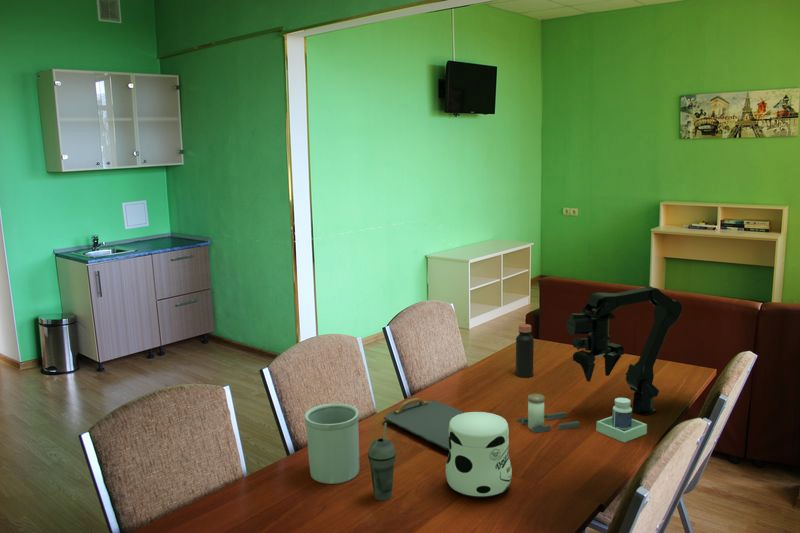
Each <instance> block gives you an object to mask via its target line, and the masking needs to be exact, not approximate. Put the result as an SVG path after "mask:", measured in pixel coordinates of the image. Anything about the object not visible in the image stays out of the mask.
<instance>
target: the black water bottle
mask: <svg viewBox="0 0 800 533" xmlns="http://www.w3.org/2000/svg"><path fill="white" fill-rule="evenodd" d="M518 333H519V334H518V335H517V336H516V337H515V375H516V377H520V378H532V377H533V376H534V354H535V352H534V349H535V348H534V347H535V346H534V344H535V343H534V341H535V340H534V336H533V335H531V333H532V325H531V324H527V323H521V324H519V325H518Z"/></svg>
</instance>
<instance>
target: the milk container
mask: <svg viewBox="0 0 800 533" xmlns="http://www.w3.org/2000/svg"><path fill="white" fill-rule="evenodd" d="M509 431H510V430H509V424H508V422H507V420H506V419H505V418H504V417H503V416H501V415H498V414H495V413H491V412H484V411H471V412H470V411H469V412H464V413H463V414H459V415H456V416H455V417H453V418H452V419H451V421H450V423H449V451H448V455H447V458H446V463H445V477H446V481H447V483H448V486H449V487H450V488H451V489H452V490H453V491H455V492H456V493H458V494H460V495H461V496H465V497H470V498H478V499H487V498H491V497H493V498H494V497H495V496H497V495H500V494H503V493H504V492H505V491H507V489H508V488H509V487H510V485H511V480H512V476H513V474H512V473H513V469H512V463H511V460H510V456H509V455H510V454H509V445H510V444H509V442H510V440H509V436H510V435H509V434H510V433H509Z"/></svg>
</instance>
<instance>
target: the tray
mask: <svg viewBox="0 0 800 533" xmlns="http://www.w3.org/2000/svg"><path fill="white" fill-rule="evenodd" d="M612 416H613V415H611V416H609V417H606V418H602V419H600V420H597V421H596V426H595V427H596V429H595V431H596V432H598V433H599V434H603V435H605V436H608V437H610V438H611V439H615V440H617V441H620V442H622V443H627V442H630V441H632V440H634V439H637V438H639V437H642V436H644V435H647V433H648V431H647V430H648V424H647V423H644V422H642V421H639V420H637V419H635V418H632V427H631V429H629V430H627V431H622V430H620V429H617V428H615V427H612Z"/></svg>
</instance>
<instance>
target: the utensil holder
mask: <svg viewBox="0 0 800 533" xmlns="http://www.w3.org/2000/svg"><path fill="white" fill-rule="evenodd" d="M359 417H360V412H359V409H358V408H357V407H355V406H353V405H350V404H346V403H335V402H334V403H325V404H320V405H316V406H314V407H311V408H310V409H307V411H306V412H305V414H304V422H305V424H306V425H305V427H306V439H307V452H308V453H307V454H308V463H309V473H310V477H311V478H312V479H313V480H315V481H316V482H319V483H322V484H327V485H329V484H330V485H331V484H332V485H333V484H341V483H345V482H348V481H351V480H353V479H354V478H355V477H357V475H358V474H359V473H360V443H359V442H360V439H359Z"/></svg>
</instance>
